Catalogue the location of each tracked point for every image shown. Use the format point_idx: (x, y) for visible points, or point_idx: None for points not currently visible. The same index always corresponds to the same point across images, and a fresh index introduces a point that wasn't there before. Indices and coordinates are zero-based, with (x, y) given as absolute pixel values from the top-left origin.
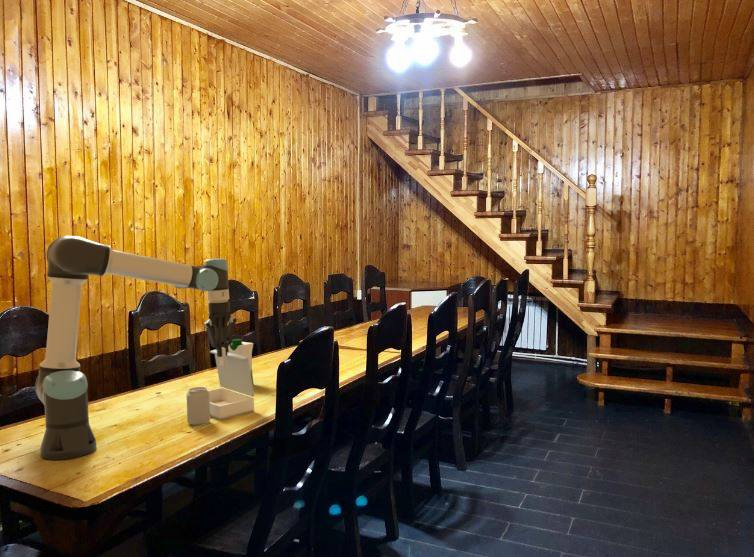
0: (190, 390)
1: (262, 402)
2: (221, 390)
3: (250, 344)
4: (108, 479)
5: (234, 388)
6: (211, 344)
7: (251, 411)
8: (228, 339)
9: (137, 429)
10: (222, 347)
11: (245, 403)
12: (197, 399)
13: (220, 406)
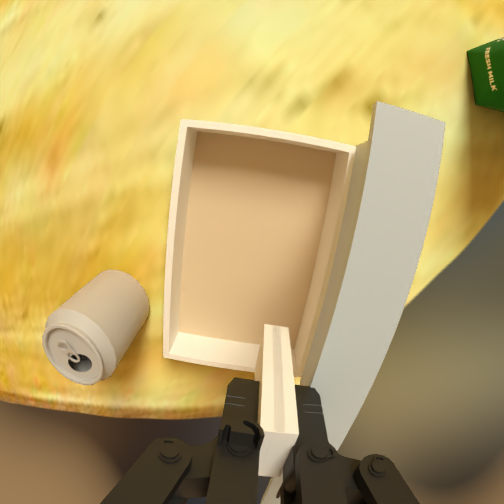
0: (54, 330)
1: None
2: (345, 160)
3: None
4: None
5: (332, 274)
6: (141, 462)
7: None
8: (393, 499)
9: (9, 205)
10: (280, 456)
11: None
12: (71, 361)
13: (166, 357)
